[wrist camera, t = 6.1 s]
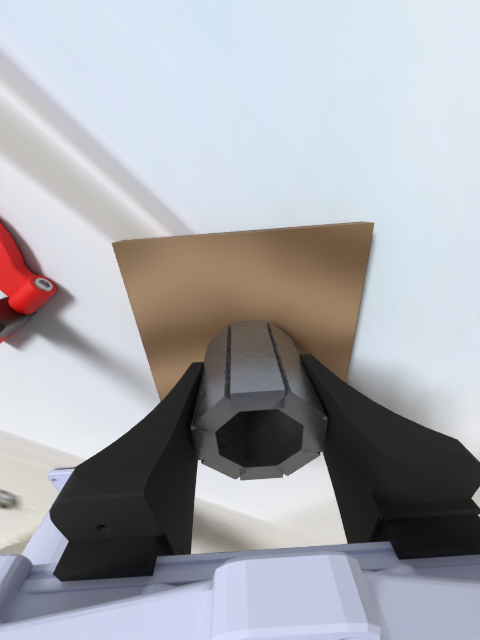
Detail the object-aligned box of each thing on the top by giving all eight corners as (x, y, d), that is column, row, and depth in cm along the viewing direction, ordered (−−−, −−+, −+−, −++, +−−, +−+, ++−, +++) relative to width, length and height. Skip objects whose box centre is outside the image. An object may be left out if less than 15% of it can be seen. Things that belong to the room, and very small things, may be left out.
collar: (291, 387, 15) (319, 475, 10) (213, 392, 15) (203, 482, 10) (294, 317, 13) (332, 386, 8) (202, 323, 13) (182, 396, 8)
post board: (334, 400, 19) (371, 469, 14) (171, 411, 19) (148, 484, 14) (362, 221, 13) (446, 230, 8) (121, 240, 13) (50, 260, 8)
